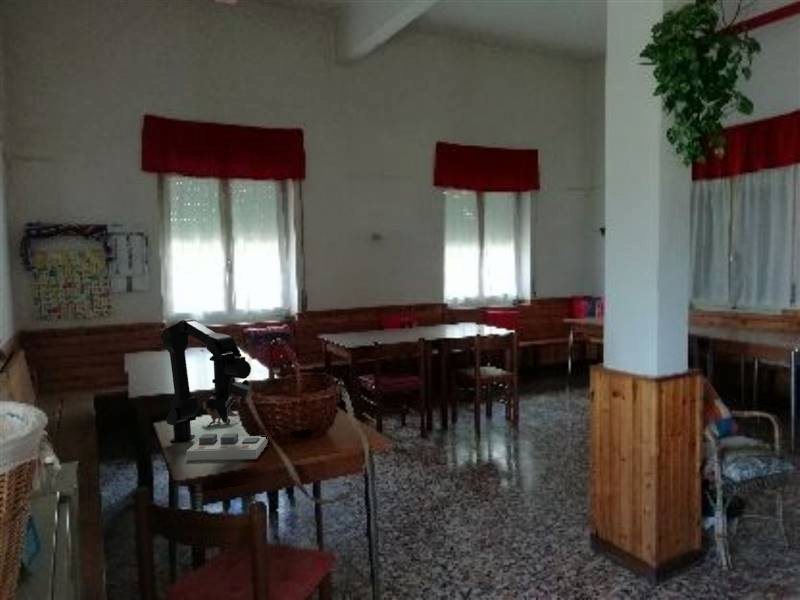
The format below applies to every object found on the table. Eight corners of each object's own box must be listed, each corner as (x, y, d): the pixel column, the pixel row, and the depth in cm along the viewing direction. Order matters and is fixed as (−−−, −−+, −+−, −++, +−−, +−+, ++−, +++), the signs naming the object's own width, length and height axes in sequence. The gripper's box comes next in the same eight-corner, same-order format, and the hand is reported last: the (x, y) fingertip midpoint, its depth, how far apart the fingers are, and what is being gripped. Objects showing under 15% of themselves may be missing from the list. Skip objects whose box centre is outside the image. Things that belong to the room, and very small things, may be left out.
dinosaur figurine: (199, 427, 228) (198, 402, 227) (203, 422, 233) (202, 399, 233) (237, 425, 229) (235, 400, 228) (239, 420, 234) (238, 397, 234)
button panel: (202, 446, 204) (202, 436, 204) (267, 444, 203) (267, 434, 203) (186, 460, 190) (186, 449, 190) (256, 458, 189) (256, 448, 189)
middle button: (225, 441, 200) (224, 433, 200) (238, 440, 200) (237, 433, 200) (220, 445, 196) (220, 437, 196) (234, 444, 196) (233, 437, 196)
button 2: (246, 445, 200) (246, 437, 200) (259, 444, 200) (259, 437, 200) (242, 449, 196) (242, 441, 196) (256, 449, 196) (255, 441, 195)
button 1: (204, 441, 200) (203, 434, 200) (217, 441, 200) (216, 433, 200) (199, 445, 196) (198, 438, 196) (212, 445, 196) (212, 437, 196)
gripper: (240, 381, 187) (242, 430, 188) (255, 369, 206) (256, 414, 207) (204, 381, 187) (206, 431, 189) (222, 369, 206) (224, 414, 207)
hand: (225, 422), depth 198 cm, fingers closed
